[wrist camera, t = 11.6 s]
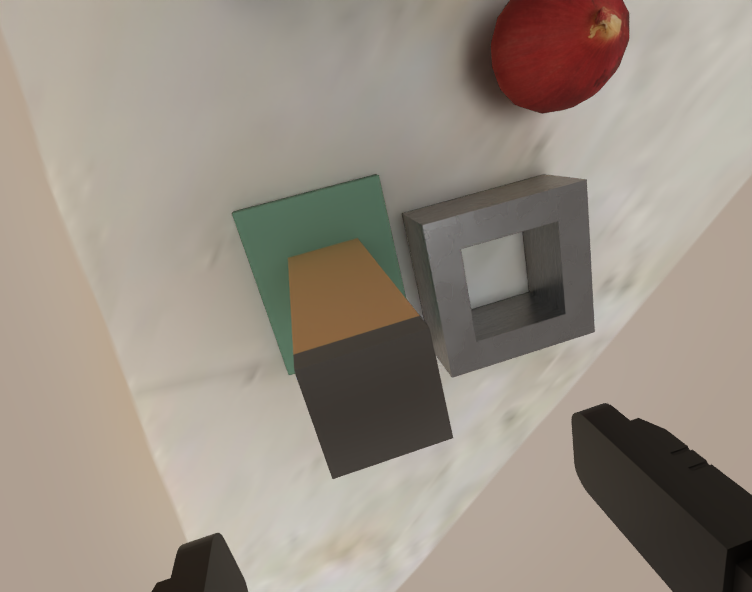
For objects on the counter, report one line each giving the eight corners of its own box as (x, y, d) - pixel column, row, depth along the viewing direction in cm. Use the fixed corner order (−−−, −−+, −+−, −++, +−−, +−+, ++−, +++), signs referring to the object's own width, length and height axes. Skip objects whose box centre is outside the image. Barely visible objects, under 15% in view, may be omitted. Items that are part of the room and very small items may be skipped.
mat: (233, 211, 24) (231, 213, 23) (375, 174, 25) (378, 175, 24) (288, 369, 27) (288, 375, 27) (411, 331, 28) (414, 336, 27)
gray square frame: (401, 213, 26) (422, 225, 22) (544, 174, 27) (586, 179, 23) (430, 347, 29) (452, 377, 25) (555, 308, 30) (594, 332, 26)
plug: (287, 257, 24) (294, 370, 12) (357, 238, 25) (429, 328, 13) (308, 322, 26) (332, 479, 14) (374, 302, 26) (453, 438, 14)
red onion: (565, -9, 24) (695, -79, 16) (565, 107, 26) (681, 93, 18) (462, 5, 23) (548, -62, 15) (470, 123, 25) (551, 115, 17)
